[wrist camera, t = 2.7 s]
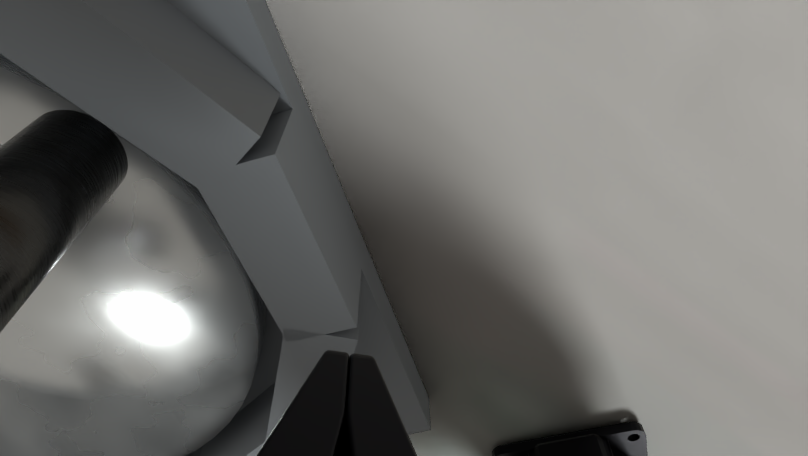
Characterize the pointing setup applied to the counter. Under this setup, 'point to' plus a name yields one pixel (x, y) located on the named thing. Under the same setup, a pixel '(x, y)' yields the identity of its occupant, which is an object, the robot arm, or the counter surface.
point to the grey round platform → (232, 174)
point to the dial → (111, 292)
